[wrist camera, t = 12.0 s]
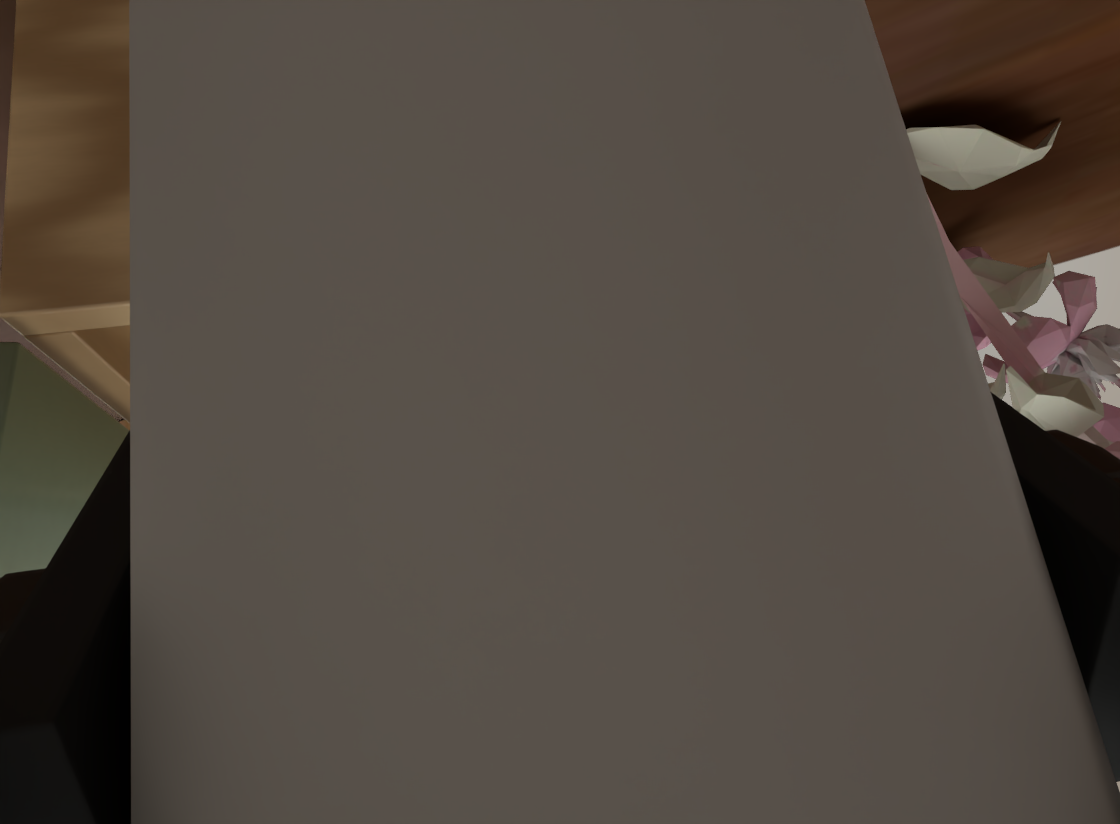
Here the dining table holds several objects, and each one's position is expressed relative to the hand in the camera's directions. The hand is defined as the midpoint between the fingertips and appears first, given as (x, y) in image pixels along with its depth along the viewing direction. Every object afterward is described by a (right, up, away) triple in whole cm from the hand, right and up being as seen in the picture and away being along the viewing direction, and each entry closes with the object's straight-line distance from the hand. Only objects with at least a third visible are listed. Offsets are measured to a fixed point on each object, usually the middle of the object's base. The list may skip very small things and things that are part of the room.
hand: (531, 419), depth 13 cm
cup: (0, +5, -2) cm, 5 cm away
